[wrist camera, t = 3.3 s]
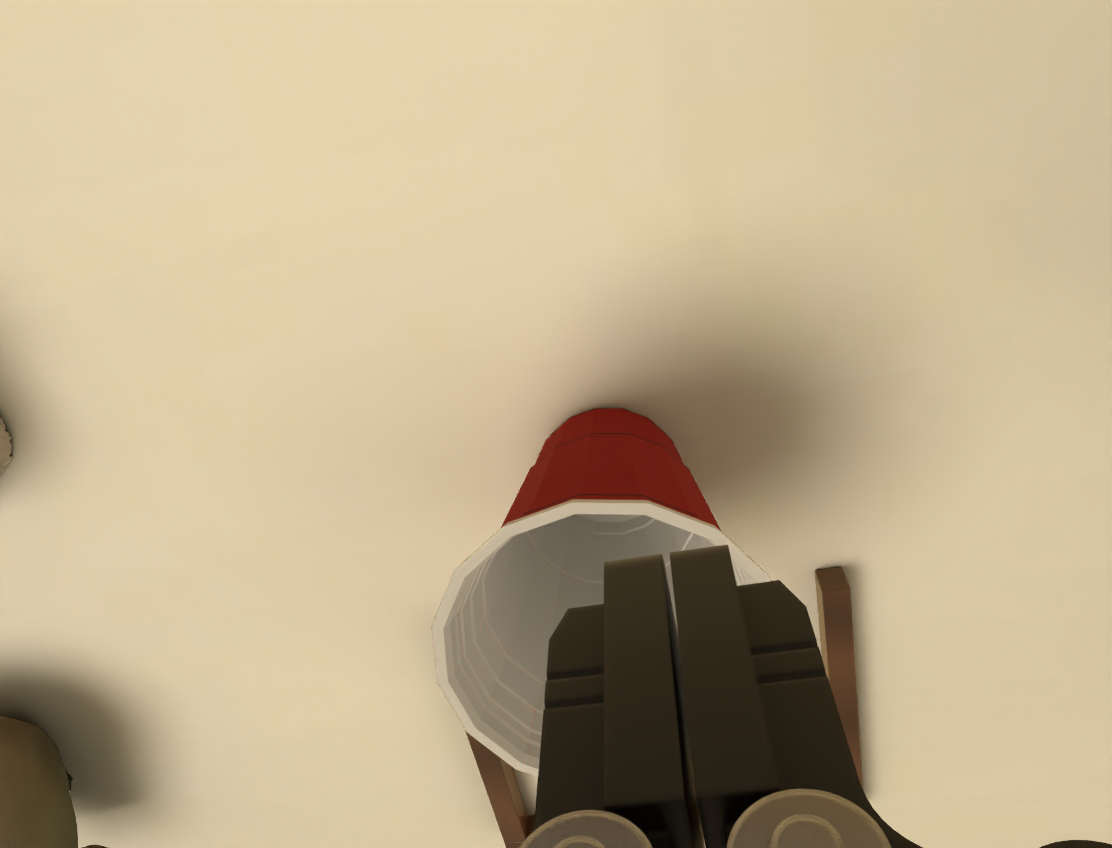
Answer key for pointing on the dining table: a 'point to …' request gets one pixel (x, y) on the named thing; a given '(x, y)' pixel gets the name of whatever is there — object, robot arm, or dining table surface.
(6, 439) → the ceramic cottage
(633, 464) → the plastic cup
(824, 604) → the frame
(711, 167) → the dining table surface
